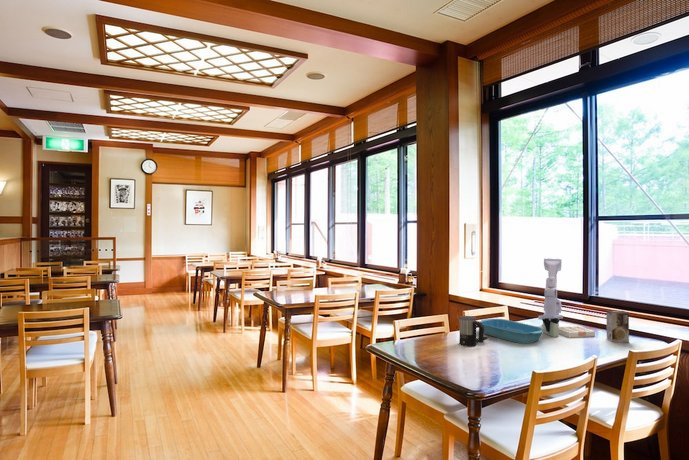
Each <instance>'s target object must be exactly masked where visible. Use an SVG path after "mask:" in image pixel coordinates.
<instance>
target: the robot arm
mask: <svg viewBox="0 0 689 460" xmlns="http://www.w3.org/2000/svg"><path fill="white" fill-rule="evenodd" d="M543 267H544V270H545V271H546V272H548V276H547V278H546V279H545V288H544V293H543V294H544V301H543V312H544V313H543V315H538V318H537V319H538V320H540V321H541V320H542V323H543V322H544V325H545V328H546V331H548V332H549V331H550V323H551V322H553V323H556V324H558V327H560V319H561V320H562V319H563V318H564V316H563V315H562V314H561V313H562V301H561V299H559V298H558V289H557V286H558V285H557V283H558V282H557V281H558V280H557V275H558V272H560V271H561V270H562V258H561V257H546V256H545V257H543ZM541 326H542V327H543V324H541Z"/></svg>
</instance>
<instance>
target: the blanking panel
mask: <svg viewBox="0 0 689 460" xmlns="http://www.w3.org/2000/svg"><path fill="white" fill-rule="evenodd" d="M542 325H543V326H542V329H543V332H542V334H543V333H544V334H545V335H549V336H550V337H553V338H557V337H559V333H558V324H556V323H553V322H551V323H550V331H549V332H548V331H546V328H545V325H544V322H543V321H542Z"/></svg>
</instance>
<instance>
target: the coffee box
mask: <svg viewBox="0 0 689 460" xmlns="http://www.w3.org/2000/svg"><path fill="white" fill-rule="evenodd" d="M629 317H630V315H629V312H626V311H624V310H606V339H607V340H608V341H610V342H613V343H614V342H615V343H629V342H630V318H629Z"/></svg>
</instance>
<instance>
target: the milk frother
mask: <svg viewBox="0 0 689 460" xmlns="http://www.w3.org/2000/svg"><path fill="white" fill-rule="evenodd" d="M458 319H459V320H458V321H459V343H458V344H459V345H460V346H462V345H463V346H462V347H476V346H477V343H478V344H479V343H480V344H481V343H484V341H487V340H488V339H489V337H488V336H485V333H484V325H483V324H482V323H481V322H480V321H478V320H476V319H477V317H476V316H473V315H461V316H458ZM477 327H478V337H477Z"/></svg>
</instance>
